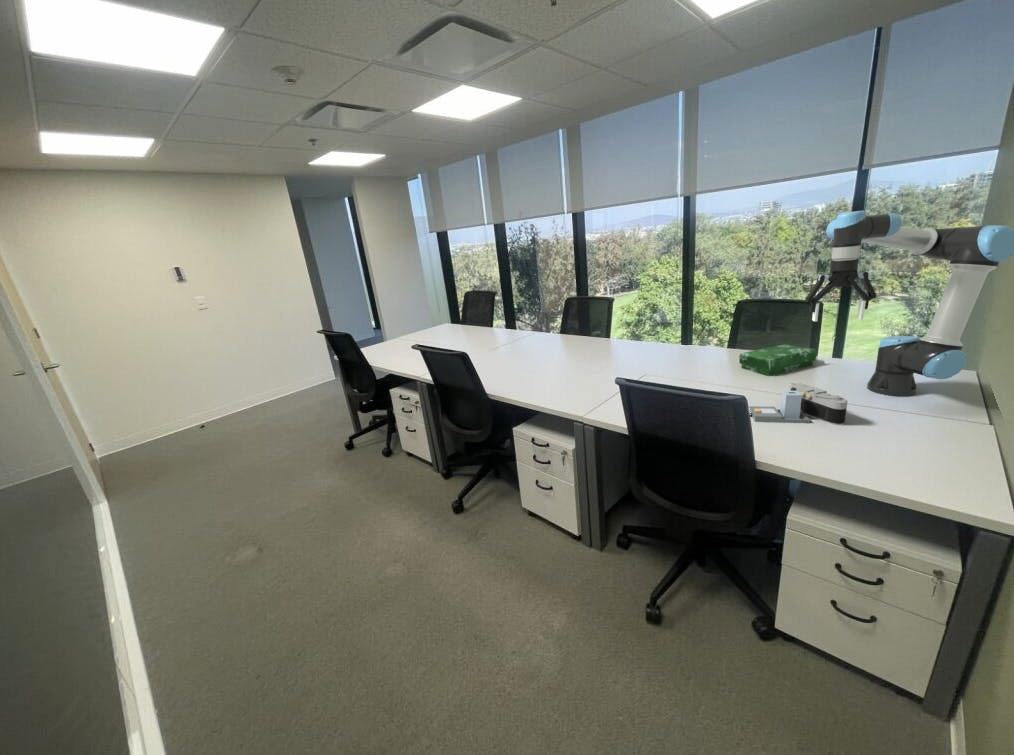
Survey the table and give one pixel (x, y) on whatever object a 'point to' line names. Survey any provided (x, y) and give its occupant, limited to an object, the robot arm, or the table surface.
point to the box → (777, 359)
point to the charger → (790, 404)
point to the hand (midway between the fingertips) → (836, 319)
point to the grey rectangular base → (773, 415)
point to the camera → (821, 404)
